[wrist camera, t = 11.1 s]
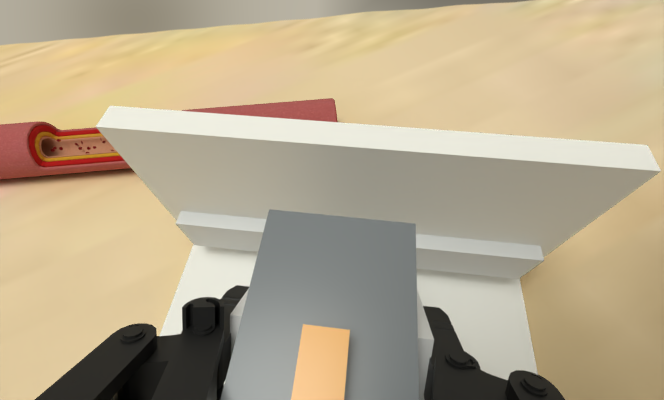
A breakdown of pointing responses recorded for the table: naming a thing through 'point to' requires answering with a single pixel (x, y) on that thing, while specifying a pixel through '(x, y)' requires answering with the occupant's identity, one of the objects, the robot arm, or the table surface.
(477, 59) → the table surface
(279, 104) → the blood vessel
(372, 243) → the block
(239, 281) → the rail panel
